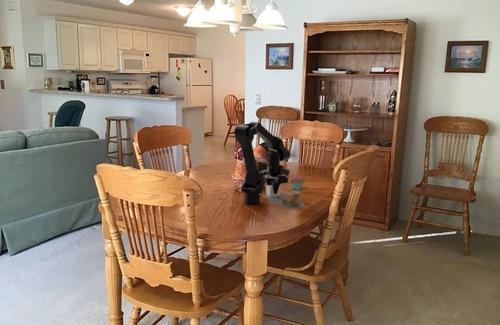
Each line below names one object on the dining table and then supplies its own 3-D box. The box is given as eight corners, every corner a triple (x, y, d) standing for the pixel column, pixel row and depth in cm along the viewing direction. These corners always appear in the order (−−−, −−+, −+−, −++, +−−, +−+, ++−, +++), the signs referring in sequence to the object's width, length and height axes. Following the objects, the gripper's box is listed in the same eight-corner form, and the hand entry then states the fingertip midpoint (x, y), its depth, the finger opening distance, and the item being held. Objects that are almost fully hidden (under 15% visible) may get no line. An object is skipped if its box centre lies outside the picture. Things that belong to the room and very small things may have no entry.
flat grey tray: (287, 211, 192) (287, 199, 191) (261, 196, 214) (261, 185, 212) (307, 208, 197) (308, 196, 196) (279, 194, 219) (280, 183, 217)
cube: (289, 207, 195) (289, 194, 194) (282, 203, 200) (282, 191, 199) (300, 205, 198) (300, 193, 196) (293, 202, 203) (293, 190, 202)
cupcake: (292, 191, 226) (292, 169, 223) (286, 187, 234) (287, 165, 231) (307, 190, 228) (308, 168, 225) (301, 186, 236) (301, 165, 233)
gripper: (298, 165, 206) (296, 195, 209) (278, 158, 222) (277, 186, 225) (278, 167, 201) (277, 198, 204) (259, 159, 217) (259, 189, 220)
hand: (273, 192), depth 213 cm, fingers closed on flat grey tray, 4 cm apart
